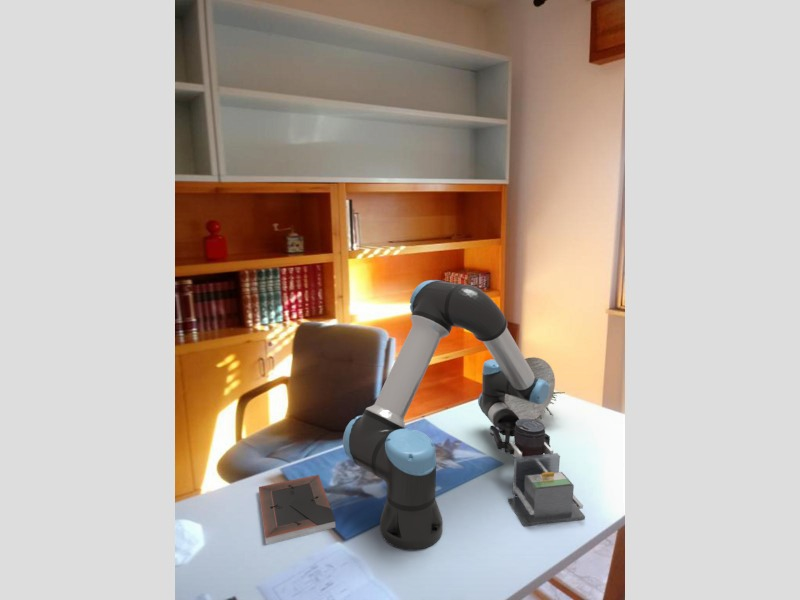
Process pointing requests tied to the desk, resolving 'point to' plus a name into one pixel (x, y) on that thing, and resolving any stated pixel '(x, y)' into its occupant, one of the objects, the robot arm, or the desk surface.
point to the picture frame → (294, 509)
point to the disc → (531, 409)
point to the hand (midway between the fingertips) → (536, 456)
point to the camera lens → (529, 437)
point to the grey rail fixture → (533, 466)
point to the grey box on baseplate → (547, 500)
